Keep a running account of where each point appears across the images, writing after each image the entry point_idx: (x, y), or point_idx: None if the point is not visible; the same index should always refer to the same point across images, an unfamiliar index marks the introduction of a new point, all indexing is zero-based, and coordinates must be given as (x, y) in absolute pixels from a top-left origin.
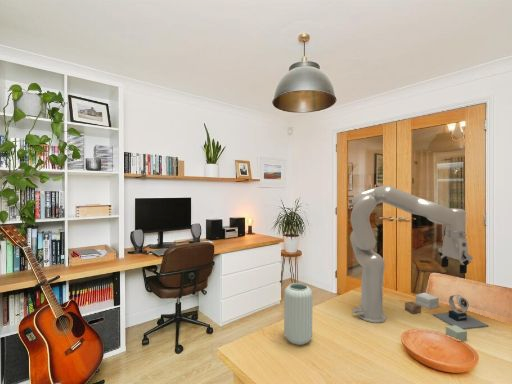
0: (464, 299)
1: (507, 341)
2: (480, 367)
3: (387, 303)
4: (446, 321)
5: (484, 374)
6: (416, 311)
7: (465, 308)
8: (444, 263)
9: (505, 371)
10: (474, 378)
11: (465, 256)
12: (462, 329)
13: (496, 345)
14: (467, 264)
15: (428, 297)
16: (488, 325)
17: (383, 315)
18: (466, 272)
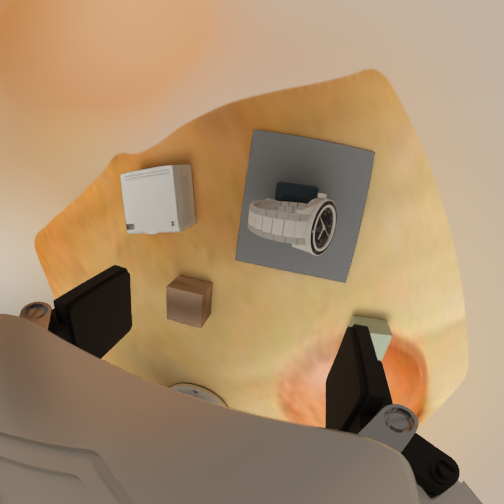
0: (319, 215)
1: (445, 212)
2: (434, 385)
3: (134, 312)
4: (295, 272)
5: (441, 394)
6: (208, 303)
7: (334, 230)
8: (109, 331)
9: (465, 357)
10: (431, 413)
11: (339, 478)
12: (380, 337)
13: (438, 269)
14: (406, 428)
15: (160, 211)
16: (374, 152)
17: (207, 397)
18: (366, 326)
